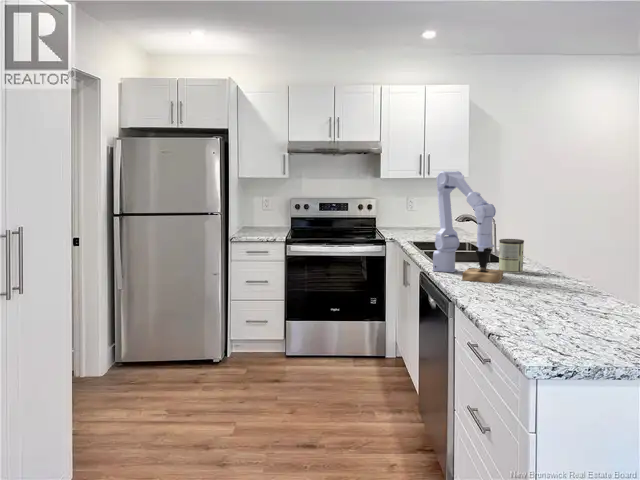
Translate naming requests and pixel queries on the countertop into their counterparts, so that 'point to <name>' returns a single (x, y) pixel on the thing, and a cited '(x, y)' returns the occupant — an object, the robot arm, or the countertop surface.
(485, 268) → the pin
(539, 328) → the countertop surface
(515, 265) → the coffee can
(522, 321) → the countertop surface
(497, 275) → the tan slotted block
